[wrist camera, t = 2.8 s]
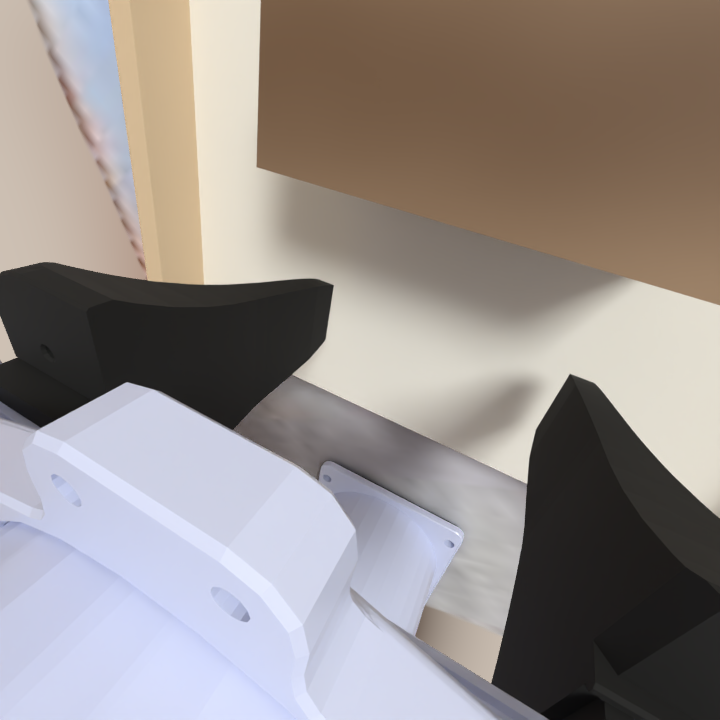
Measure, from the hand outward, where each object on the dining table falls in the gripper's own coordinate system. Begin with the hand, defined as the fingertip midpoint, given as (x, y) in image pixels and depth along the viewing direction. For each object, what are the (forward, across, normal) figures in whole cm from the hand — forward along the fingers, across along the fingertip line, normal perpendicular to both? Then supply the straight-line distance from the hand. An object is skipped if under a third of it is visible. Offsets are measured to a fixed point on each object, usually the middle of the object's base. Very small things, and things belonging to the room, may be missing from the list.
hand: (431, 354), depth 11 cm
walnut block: (+1, 0, -6) cm, 6 cm away
